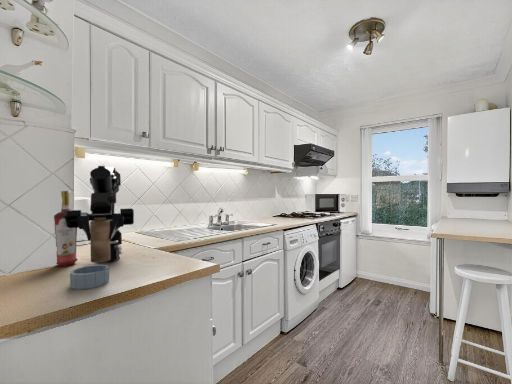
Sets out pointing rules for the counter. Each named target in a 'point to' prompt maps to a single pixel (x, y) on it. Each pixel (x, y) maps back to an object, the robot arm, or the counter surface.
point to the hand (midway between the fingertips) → (99, 239)
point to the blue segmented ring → (89, 277)
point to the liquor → (65, 235)
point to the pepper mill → (100, 239)
